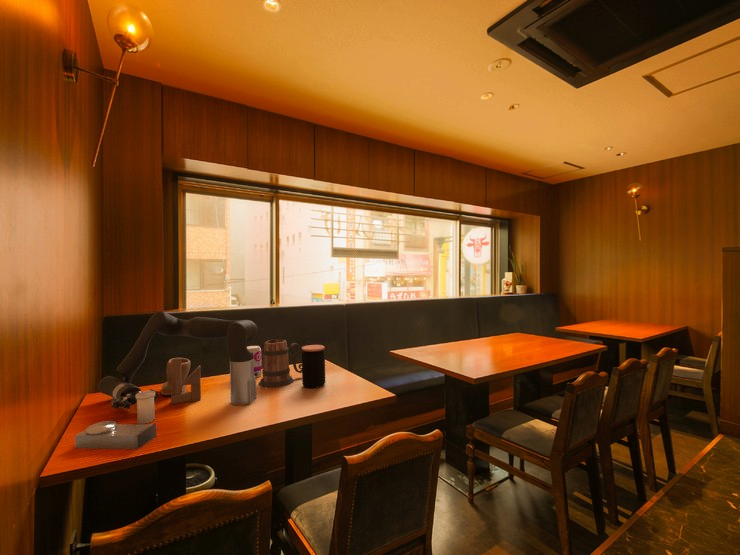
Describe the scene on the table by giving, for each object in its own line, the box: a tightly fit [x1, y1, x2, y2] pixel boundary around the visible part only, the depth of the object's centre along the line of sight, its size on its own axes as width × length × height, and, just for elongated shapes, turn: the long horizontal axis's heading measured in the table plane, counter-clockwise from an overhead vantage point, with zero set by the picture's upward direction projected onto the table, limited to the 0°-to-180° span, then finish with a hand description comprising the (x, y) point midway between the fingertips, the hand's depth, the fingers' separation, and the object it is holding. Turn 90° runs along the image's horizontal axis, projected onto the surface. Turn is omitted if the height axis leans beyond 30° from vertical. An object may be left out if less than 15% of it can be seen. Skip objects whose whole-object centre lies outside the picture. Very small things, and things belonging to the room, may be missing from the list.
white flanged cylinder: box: [136, 390, 156, 425], centre depth 127 cm, size 6×6×10 cm
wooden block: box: [170, 357, 202, 405], centre depth 146 cm, size 4×11×18 cm, turn 114°
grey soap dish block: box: [74, 420, 157, 450], centre depth 111 cm, size 20×8×5 cm, turn 86°
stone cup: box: [160, 357, 191, 396], centre depth 159 cm, size 15×12×15 cm
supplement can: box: [247, 345, 263, 378], centre depth 181 cm, size 8×8×15 cm
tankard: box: [258, 339, 302, 389], centre depth 172 cm, size 24×17×20 cm
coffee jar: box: [301, 344, 326, 390], centre depth 164 cm, size 11×11×18 cm
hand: (142, 402), depth 129 cm, fingers open, 8 cm apart
